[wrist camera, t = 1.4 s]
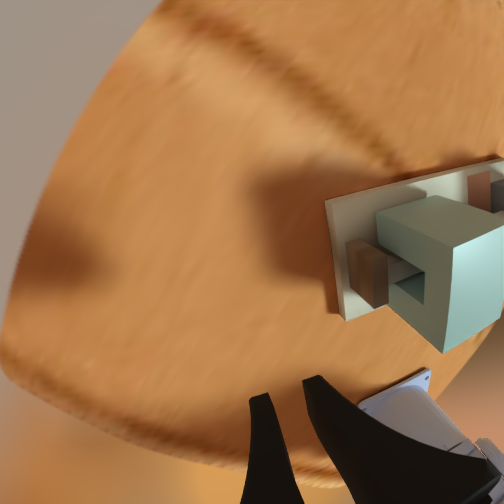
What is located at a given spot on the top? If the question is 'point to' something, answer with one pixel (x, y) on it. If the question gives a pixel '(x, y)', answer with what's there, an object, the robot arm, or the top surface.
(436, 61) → the top surface
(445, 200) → the sleeve
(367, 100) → the top surface
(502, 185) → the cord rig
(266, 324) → the top surface
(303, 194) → the top surface
